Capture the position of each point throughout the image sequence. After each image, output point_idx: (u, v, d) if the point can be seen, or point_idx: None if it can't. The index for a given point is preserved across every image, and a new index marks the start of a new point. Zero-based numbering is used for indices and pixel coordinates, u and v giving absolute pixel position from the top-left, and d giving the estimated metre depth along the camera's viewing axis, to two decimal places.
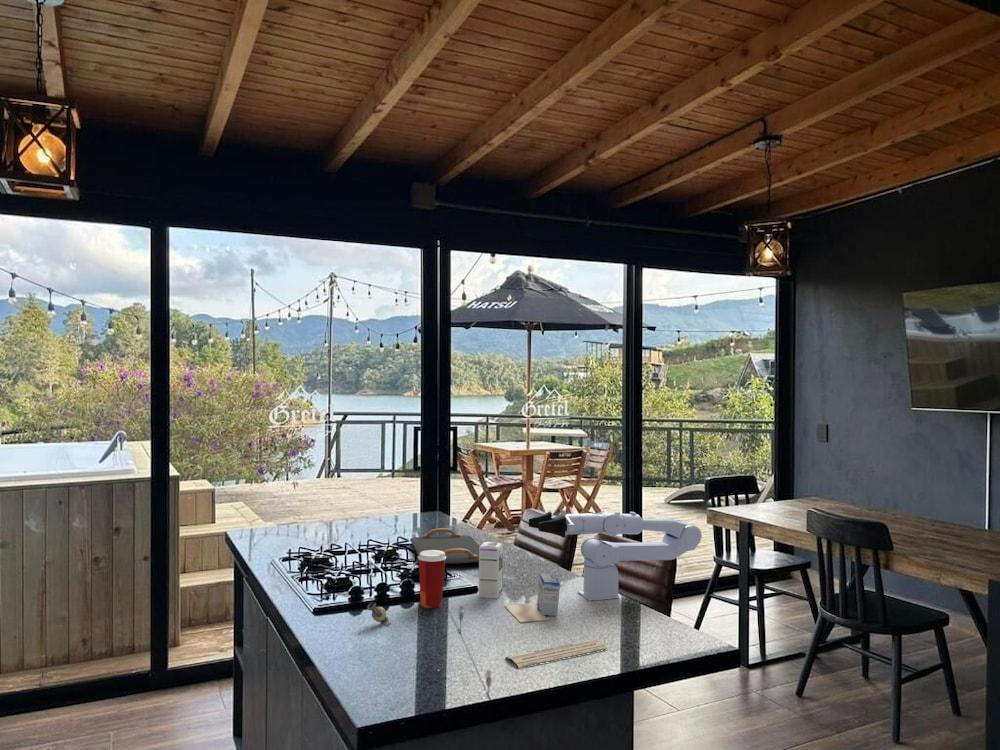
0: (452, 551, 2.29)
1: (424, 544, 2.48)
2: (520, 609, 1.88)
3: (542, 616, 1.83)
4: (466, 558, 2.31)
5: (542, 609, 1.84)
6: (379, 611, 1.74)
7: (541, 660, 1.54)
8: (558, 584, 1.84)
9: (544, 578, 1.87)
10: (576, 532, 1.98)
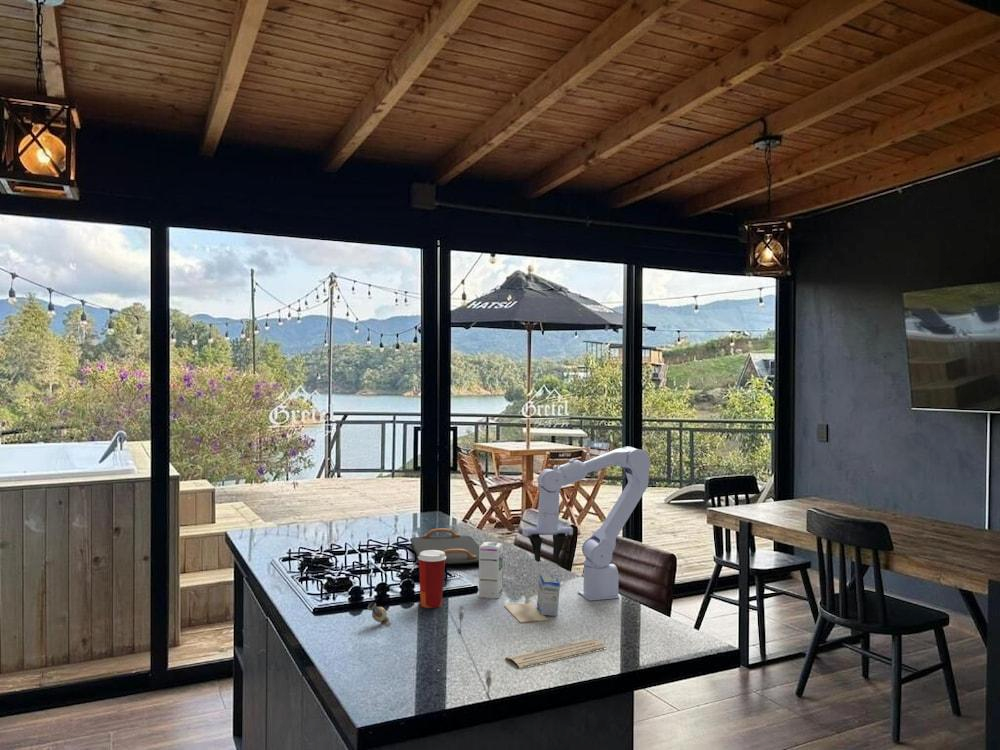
0: (451, 551, 2.29)
1: (424, 544, 2.48)
2: (520, 609, 1.88)
3: (542, 616, 1.83)
4: (465, 558, 2.30)
5: (542, 609, 1.84)
6: (379, 611, 1.74)
7: (541, 660, 1.54)
8: (558, 584, 1.84)
9: (544, 578, 1.87)
10: (544, 519, 1.97)
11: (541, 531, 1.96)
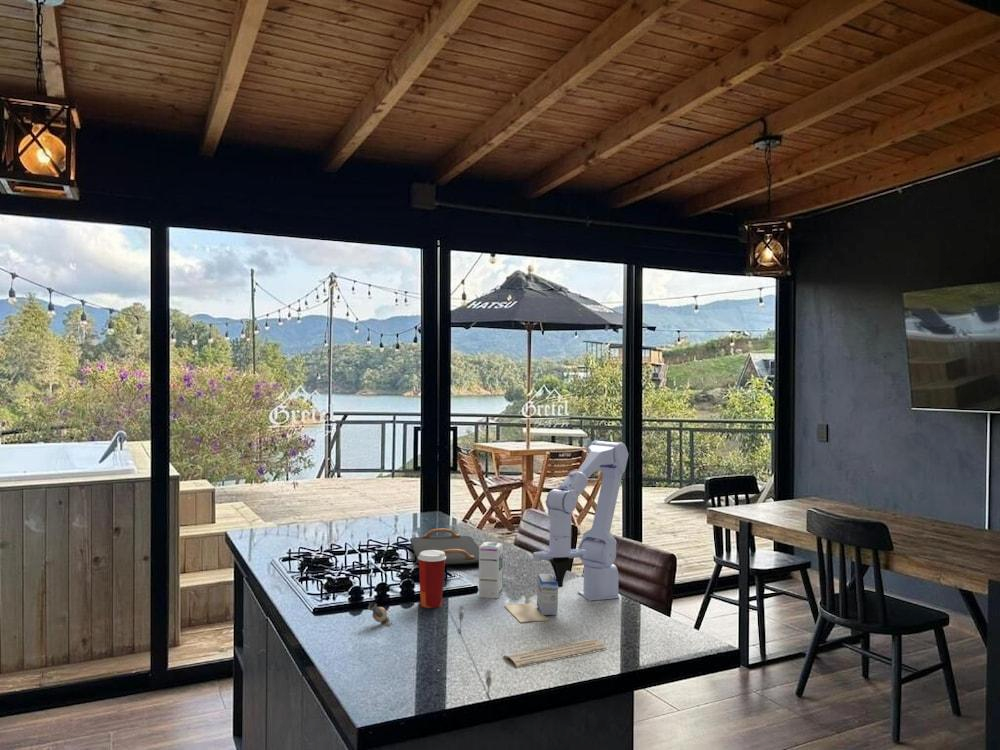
0: (449, 552, 2.28)
1: (423, 544, 2.48)
2: (520, 609, 1.88)
3: (542, 616, 1.83)
4: (463, 559, 2.30)
5: (542, 609, 1.84)
6: (380, 611, 1.74)
7: (539, 659, 1.54)
8: (556, 583, 1.84)
9: (542, 578, 1.87)
10: (556, 542, 1.86)
11: (553, 555, 1.86)
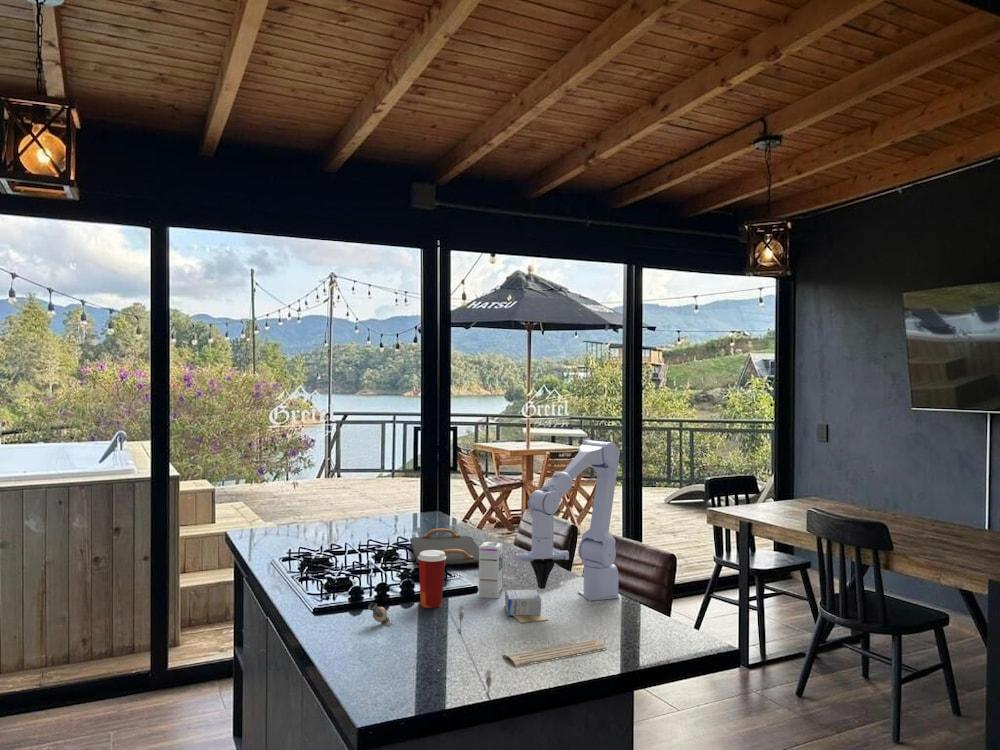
0: (448, 552, 2.28)
1: (423, 544, 2.48)
2: None
3: (542, 616, 1.83)
4: (462, 559, 2.30)
5: (535, 614, 1.83)
6: (380, 611, 1.74)
7: (538, 658, 1.55)
8: (509, 600, 1.83)
9: (506, 608, 1.86)
10: (538, 544, 1.85)
11: (535, 557, 1.84)
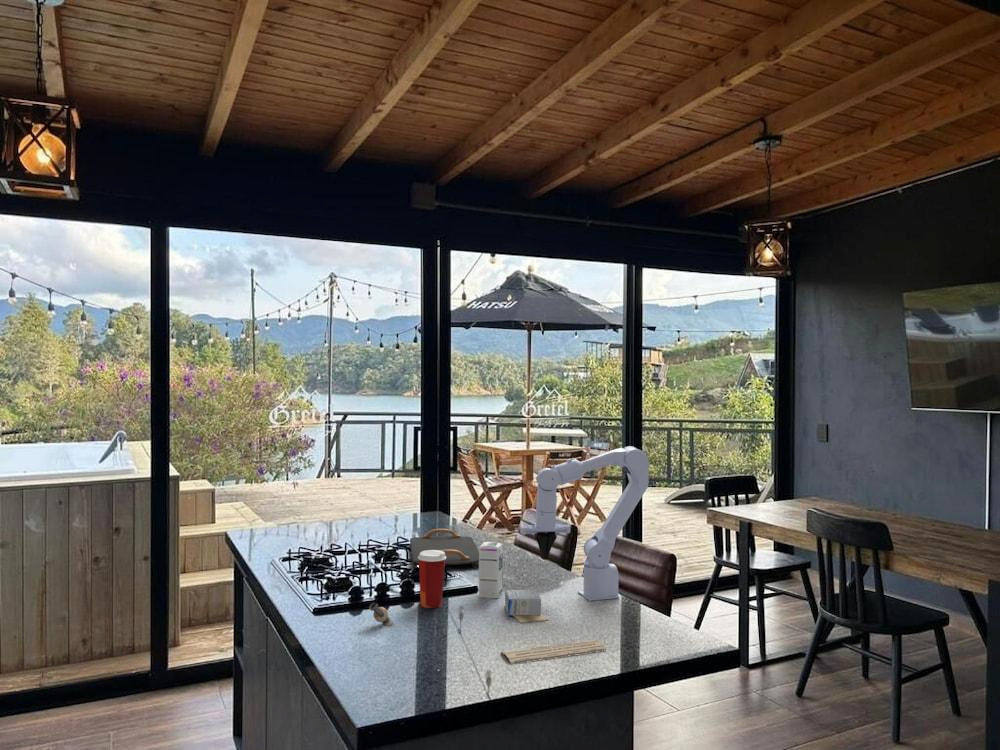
0: None
1: (421, 544, 2.48)
2: None
3: (542, 616, 1.83)
4: (458, 559, 2.29)
5: (535, 614, 1.83)
6: (381, 611, 1.74)
7: (535, 657, 1.56)
8: (509, 600, 1.83)
9: (506, 608, 1.86)
10: (542, 518, 1.99)
11: (539, 530, 1.98)
